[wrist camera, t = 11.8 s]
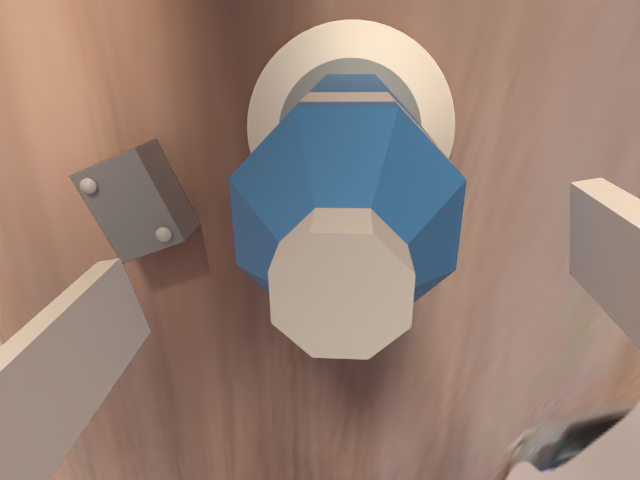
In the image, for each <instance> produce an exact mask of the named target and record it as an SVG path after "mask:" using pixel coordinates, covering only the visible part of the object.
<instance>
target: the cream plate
mask: <svg viewBox="0 0 640 480" xmlns="http://www.w3.org/2000/svg"><path fill="white" fill-rule="evenodd" d="M327 74H375V75H376V76H377V77H378V78H379V79H380V80H381V81H382V82H383V83H384V84H385V86H386V87H387V88H388V89H389V90H390V91H391V92H392V93H393V94H394V95H395V96H396V98H397V99H398V100H399V101H400V102H401V103H402V104H403V105H404V106H405V107H406V108H407V110H408V111H409V112H410V113H411V114H412V116H413V117H414V118H415V119H416V120H417V121H418V123H419V124H420V125H421V126H422V127H423V129H424V130H425V131H426V132H427V133H428V135H429V136H430V137H431V138H432V139H433V141H434V142H435V143H436V144H437V145H438V147H439V148H440V149H441V150H442V151H443V153H444V154H445V155H446V156H447V157H448V159H449V158H450V155H451V150H452V146H453V142H454V133H455V112H454V106H453V100H452V96H451V93H450V90H449V86H448V84H447V82H446V80H445V78H444V75H443V73H442V72H441V70H440V68H439V67H438V65H437V64H436V62H435V61H434V59H433V58H432V57H431V56H430V55H429V54H428V52H427V51H426V50H425V49H424V48H423V47H421V46H420V45H419V44H418V43H417V42H416V41H415V40H413V39H412V38H410V37H409V36H407V35H406V34H404V33H402V32H401V31H398V30H396V29H394V28H392V27H390V26H387V25H384V24H380V23H377V22H373V21H365V20H339V21H333V22H328V23H325V24H321V25H318V26H315V27H313V28H311V29H309V30H306V31H304V32H302V33H301V34H299V35H297V36H296V37H294V38H293V39H291V40H290V41H289V42H287V43H286V44H285V45H284V46H283V47H282V48H281V49H279V50H278V51H277V53H276V54H275V55H274V56H273V57H272V58H271V59H270V61H269V62H268V63H267V65H266V66H265V68H264V69H263V71H262V72H261V74H260V76H259V78H258V80H257V82H256V85H255V87H254V90H253V93H252V96H251V99H250V104H249V109H248V117H247V136H248V144H249V149H250V154H251V153H252V152H253V151H254V150H255V149H256V148H257V147H258V146H259V144H260V143H261V142H262V141H263V140H264V139H265V138H266V137H267V136H268V135H269V134H270V133H271V132H272V130H273V129H274V128H275V127H276V126H277V125H278V124H279V123H280V122H281V121H282V120H283V119H284V117H285V116H286V115H287V114H288V113H289V112H290V111H291V110H292V109H293V108H294V107H295V106H296V105H297V104H298V103H299V102H300V101H301V100H302V99H303V98H304V97H305V96H306V95H307V94H308V93H309V91H310V90H311V89H312V88H313V87H314V86H315V85H316V84H317V83H318V82H319V81H320V80H321V79H322V78H323V77H324V76H325V75H327Z"/></svg>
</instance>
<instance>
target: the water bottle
mask: <svg viewBox="0 0 640 480" xmlns="http://www.w3.org/2000/svg"><path fill="white" fill-rule="evenodd" d="M228 181H229V192H230V202H231V213H232V224H233V235H234V246H235V257H236V265H237V266H238V267H239V268H240V269H241V270H243V271H244V272H245V273H246V274H247V275H248V276H249V277H251V278H252V279H253V280H254V281H255V282H256V283H258V284H259V285H260V286H261V287H262V288H263V289H265V290H266V291H267V292H268V293H269V298H270V314H271V323H272V324H273V325H274V326H275V327H276V328H278V329H279V330H280V331H281V332H282V333H284V334H285V335H286V336H287V337H288V338H290V339H291V340H292V341H293V342H294V343H295V344H297V345H298V346H299V347H300V348H301V349H303V350H304V351H305V352H306V353H307V354H309V355H310V356H311V357H312V358H336V359H364V360H369V359H370V358H371V357H373V356H374V355H375V354H377V353H378V352H379V351H381V350H382V349H383V348H384V347H386V346H387V345H388V344H390V343H391V342H392V341H394V340H395V339H396V338H398V337H399V336H400V335H402V334H403V333H404V332H406V331H407V330H408V329H410V328H411V326H412V313H413V303H414V302H415V301H416V300H418V299H419V298H420V297H421V296H423V295H424V294H425V293H427V292H428V291H429V290H431V289H432V288H433V287H434V286H436V285H437V284H438V283H440V282H441V281H442V280H443V279H445V278H446V277H447V276H449V275H450V274H451V273H452V272H454V271H455V270H456V264H457V256H458V247H459V239H460V230H461V222H462V214H463V205H464V197H465V188H466V179H465V178H464V177H463V175H462V174H461V173H460V172H459V171H458V169H457V168H456V167H455V166H454V165H453V163H452V162H451V161H450V160H449V159H448V157H447V156H446V155H445V154H444V153H443V151H442V150H441V149H440V148H439V147H438V145H437V144H436V143H435V142H434V141H433V139H432V138H431V137H430V136H429V135H428V133H427V132H426V131H425V130H424V129H423V127H422V126H421V125H420V124H419V123H418V121H417V120H416V119H415V118H414V117H413V116H412V114H411V113H410V112H409V111H408V110H407V108H406V107H405V106H404V105H403V104H402V103H401V102H400V101H399V100H398V99H397V98H396V96H395V95H394V94H393V93H392V92H391V91H390V90H389V89H388V88H387V87H386V86H385V84H384V83H383V82H382V81H381V80H380V79H379V78H378V77H377V76H376V75H375V74H327V75H325V76H324V77H323V78H322V79H321V80H320V81H319V82H318V83H317V84H316V85H315V86H314V87H313V88H312V89H311V90H310V91H309V93H308V94H307V95H306V96H305V97H304V98H303V99H302V100H301V101H300V102H299V103H298V104H297V105H296V106H295V107H294V108H293V109H292V110H291V111H290V112H289V113H288V114H287V115H286V116H285V117H284V119H283V120H282V121H281V122H280V123H279V124H278V125H277V126H276V127H275V128H274V129H273V130H272V132H271V133H270V134H269V135H268V136H267V137H266V138H265V139H264V140H263V141H262V142H261V143H260V144H259V146H258V147H257V148H256V149H255V150H254V151H253V152H252V153H251V154H250V155H249V156H248V157H247V158H246V160H245V161H244V162H243V163H242V164H241V165H240V166H239V167H238V168H237V169H236V170H235V171H234V173H233V174H232V175H231V176H230V177H229V178H228Z"/></svg>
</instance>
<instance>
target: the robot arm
mask: <svg viewBox="0 0 640 480" xmlns="http://www.w3.org/2000/svg"><path fill="white" fill-rule="evenodd" d="M570 274H571V275H572V276H573V277H574V278H575V279H576V280H577V281H578V283H579V284H580V285H581V286H582V287H583V288H584V289H585V290H586V291H587V292H588V293H589V295H590V296H591V297H592V298H593V299H594V300H595V301H596V302H597V303H598V304H599V305H600V306H601V308H602V309H603V310H604V311H605V312H606V313H607V314H608V315H609V316H610V317H611V318H612V319H613V321H614V322H615V323H616V324H617V325H618V326H619V327H620V328H621V329H622V330H623V331H624V332H625V334H626V335H627V336H628V337H629V338H630V339H631V340H632V341H633V342H634V343H635V344H636V345H637V347H638V348H639V349H640V199H638V198H636V197H635V196H633V195H631V194H629V193H628V192H626V191H624V190H622V189H621V188H619V187H617V186H615V185H613V184H612V183H610V182H608V181H606V180H605V179H603V178H596V179H590V180H584V181H578V182H572V183H571V193H570ZM150 333H151V330H150V328H149V326H148V323H147V321H146V318H145V316H144V314H143V311H142V309H141V306H140V304H139V302H138V299H137V297H136V295H135V292H134V290H133V287H132V285H131V283H130V280H129V278H128V275H127V273H126V271H125V268H124V266H123V264H122V261H121V259H120V258H117V259H111V260H105V261H99V262H97V263H95V264H94V265H93V266H92V267H91V268H90V269H89V270H87V271H86V272H85V273H84V274H83V275H82V276H81V277H79V278H78V279H77V280H76V281H75V282H74V283H73V284H72V285H70V286H69V287H68V288H67V289H66V290H65V291H64V292H62V293H61V294H60V295H59V296H58V297H57V298H56V299H54V300H53V301H52V302H51V303H50V304H49V305H48V306H46V307H45V308H44V309H43V310H42V311H41V312H40V313H39V314H37V315H36V316H35V317H34V318H33V319H32V320H31V321H29V322H28V323H27V324H26V325H25V326H24V327H23V328H21V329H20V330H19V331H18V332H17V333H16V334H15V335H13V336H12V337H11V338H10V339H9V340H8V341H7V342H6V343H4V344H3V345H2V346H1V347H0V480H50V478H51V477H52V476H53V474H54V473H55V471H56V470H57V468H58V467H59V465H60V464H61V462H62V461H63V460H64V458H65V457H66V455H67V454H68V452H69V451H70V449H71V448H72V446H73V445H74V443H75V442H76V441H77V439H78V438H79V436H80V435H81V433H82V432H83V430H84V429H85V427H86V426H87V424H88V423H89V422H90V420H91V419H92V417H93V416H94V414H95V413H96V411H97V410H98V408H99V407H100V406H101V404H102V403H103V401H104V400H105V398H106V397H107V395H108V394H109V392H110V391H111V389H112V388H113V387H114V385H115V384H116V382H117V381H118V379H119V378H120V376H121V375H122V373H123V372H124V370H125V369H126V368H127V366H128V365H129V363H130V362H131V360H132V359H133V357H134V356H135V354H136V353H137V351H138V350H139V349H140V347H141V346H142V344H143V343H144V341H145V340H146V338H147V337H148V335H149V334H150Z"/></svg>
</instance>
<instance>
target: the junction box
mask: <svg viewBox="0 0 640 480" xmlns="http://www.w3.org/2000/svg"><path fill="white" fill-rule="evenodd" d="M69 177H70V178H71V180H72V182H73V183H74V185H75V187H76V188H77V190H78V192H79V193H80V195H81V197H82V198H83V200H84V201H85V203H86V205H87V206H88V208H89V210H90V211H91V213H92V215H93V216H94V218H95V220H96V221H97V223H98V225H99V226H100V228H101V229H102V231H103V233H104V234H105V236H106V238H107V239H108V241H109V243H110V244H111V246H112V248H113V249H114V251H115V252H116V254H117V256H118V257H119V258H120V259H121V261H122V264H124V263H126V262H129V261H132V260H135V259H137V258H140V257H143V256H146V255H148V254H151V253H154V252H157V251H160V250H162V249H165V248H168V247H171V246H173V245H176V244H179V243H182V242H185V241H186V240H187V238H188V237H189V236H190V235H191V234H192V233H193V232H194V230H195V229H196V228H197V227H198V226H199V225H200V222H199V220H198V218H197V216H196V214H195V212H194V210H193V208H192V206H191V205H190V203H189V201H188V199H187V197H186V195H185V193H184V191H183V189H182V187H181V185H180V183H179V181H178V180H177V178H176V176H175V174H174V172H173V170H172V168H171V166H170V164H169V162H168V160H167V158H166V156H165V155H164V153H163V151H162V149H161V147H160V145H159V143H158V141H157V139H154V140H152V141H149V142H147V143H144V144H142V145H140V146H137V147H135V148H132V149H130V150H128V151H125V152H123V153H121V154H118V155H116V156H113V157H111V158H109V159H106V160H104V161H101V162H99V163H97V164H94V165H92V166H90V167H88V168H86V169H83V170H81V171H79V172H77V173H75V174H72V175H70V176H69Z"/></svg>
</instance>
